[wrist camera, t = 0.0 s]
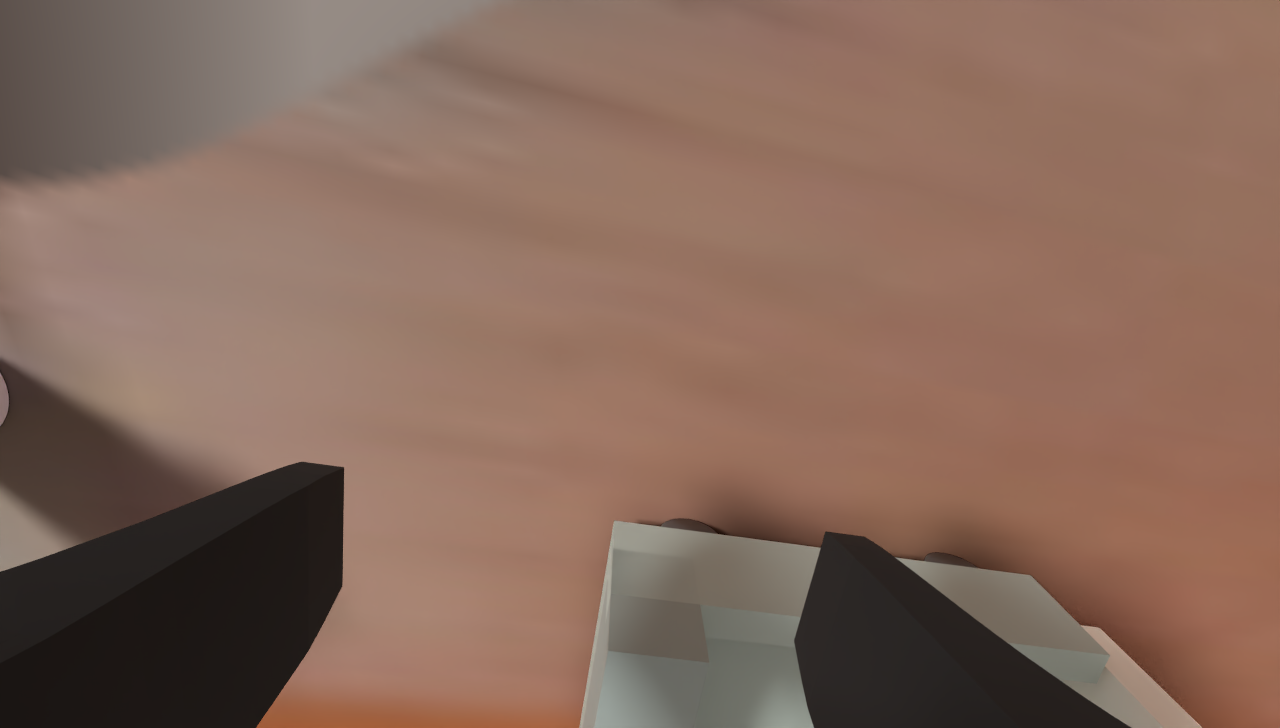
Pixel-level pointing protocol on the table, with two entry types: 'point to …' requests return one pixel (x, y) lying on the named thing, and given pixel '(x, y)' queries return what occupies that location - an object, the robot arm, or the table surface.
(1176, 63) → the table surface
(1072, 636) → the bed
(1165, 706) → the panel
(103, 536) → the robot arm
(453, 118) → the table surface
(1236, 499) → the table surface
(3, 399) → the smoothie
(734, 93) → the table surface
